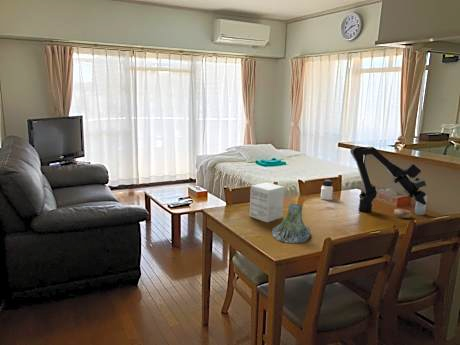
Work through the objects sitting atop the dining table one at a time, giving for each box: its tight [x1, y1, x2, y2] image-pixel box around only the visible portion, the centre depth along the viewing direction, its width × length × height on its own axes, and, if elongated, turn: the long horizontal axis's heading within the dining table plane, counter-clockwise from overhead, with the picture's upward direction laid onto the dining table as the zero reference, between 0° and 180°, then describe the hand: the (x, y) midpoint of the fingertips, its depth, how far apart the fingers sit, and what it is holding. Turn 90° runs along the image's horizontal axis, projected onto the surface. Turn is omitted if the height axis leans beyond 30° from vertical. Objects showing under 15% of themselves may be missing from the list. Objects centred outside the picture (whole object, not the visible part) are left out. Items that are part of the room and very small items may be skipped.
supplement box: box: [248, 182, 285, 223], centre depth 200 cm, size 13×13×18 cm
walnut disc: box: [393, 208, 413, 219], centre depth 210 cm, size 9×9×3 cm
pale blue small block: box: [414, 195, 428, 216], centre depth 215 cm, size 5×5×11 cm
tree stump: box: [271, 202, 311, 244], centre depth 176 cm, size 18×20×18 cm
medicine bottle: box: [320, 179, 334, 201], centre depth 242 cm, size 7×7×12 cm
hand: (423, 203), depth 215 cm, fingers closed on pale blue small block, 5 cm apart
